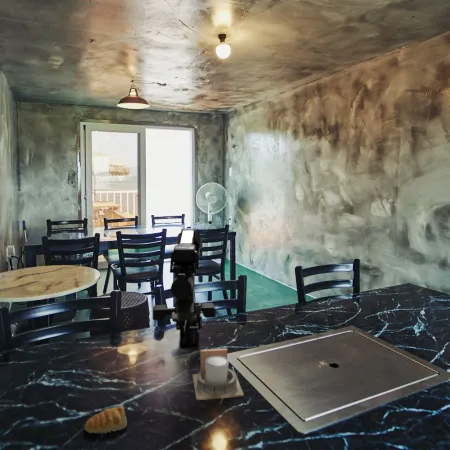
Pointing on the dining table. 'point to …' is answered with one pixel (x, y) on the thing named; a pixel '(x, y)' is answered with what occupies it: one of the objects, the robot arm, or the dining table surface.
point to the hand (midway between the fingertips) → (184, 338)
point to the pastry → (107, 421)
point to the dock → (216, 387)
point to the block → (210, 353)
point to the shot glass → (216, 369)
